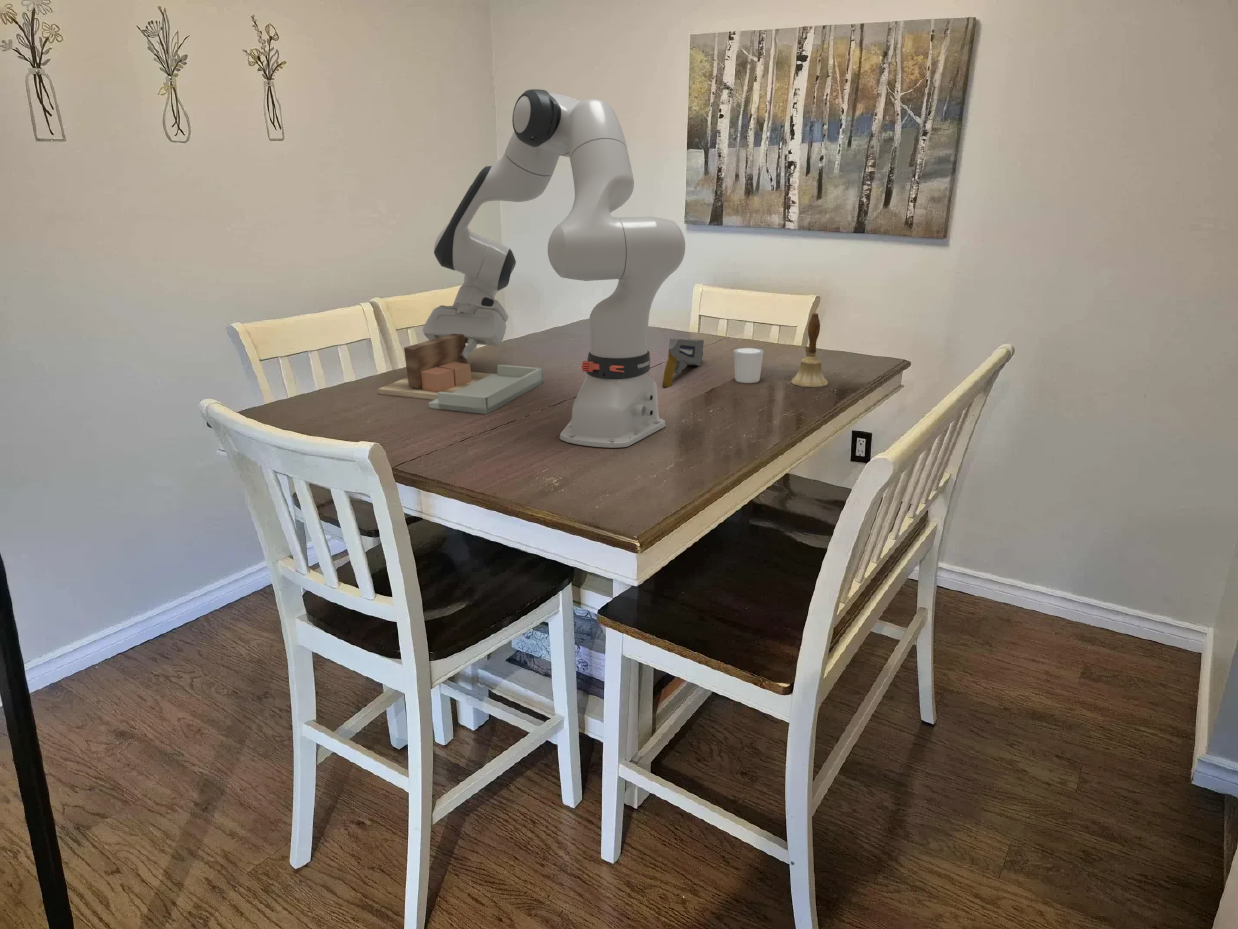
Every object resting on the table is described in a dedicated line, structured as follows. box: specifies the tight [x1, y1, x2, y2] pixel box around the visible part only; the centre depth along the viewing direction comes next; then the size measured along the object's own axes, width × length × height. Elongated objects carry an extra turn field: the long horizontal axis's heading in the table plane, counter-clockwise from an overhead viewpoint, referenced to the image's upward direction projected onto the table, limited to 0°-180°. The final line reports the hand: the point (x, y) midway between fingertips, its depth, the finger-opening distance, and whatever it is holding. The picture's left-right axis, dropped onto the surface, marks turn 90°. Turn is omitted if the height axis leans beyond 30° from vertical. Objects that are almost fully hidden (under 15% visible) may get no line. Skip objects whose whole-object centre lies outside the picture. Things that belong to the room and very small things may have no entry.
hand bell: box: [790, 312, 829, 388], centre depth 188 cm, size 8×8×16 cm
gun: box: [662, 338, 705, 388], centre depth 199 cm, size 3×25×15 cm, turn 158°
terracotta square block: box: [439, 362, 472, 386], centre depth 190 cm, size 5×5×4 cm
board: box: [377, 371, 492, 401], centre depth 192 cm, size 20×18×1 cm
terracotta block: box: [421, 367, 455, 392], centre depth 185 cm, size 5×5×4 cm
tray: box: [428, 364, 544, 415], centre depth 184 cm, size 26×14×4 cm, turn 158°
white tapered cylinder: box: [733, 347, 764, 384], centre depth 192 cm, size 7×7×7 cm
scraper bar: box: [403, 334, 468, 389], centre depth 190 cm, size 16×3×9 cm, turn 146°
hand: (453, 356), depth 194 cm, fingers closed on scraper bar, 3 cm apart
